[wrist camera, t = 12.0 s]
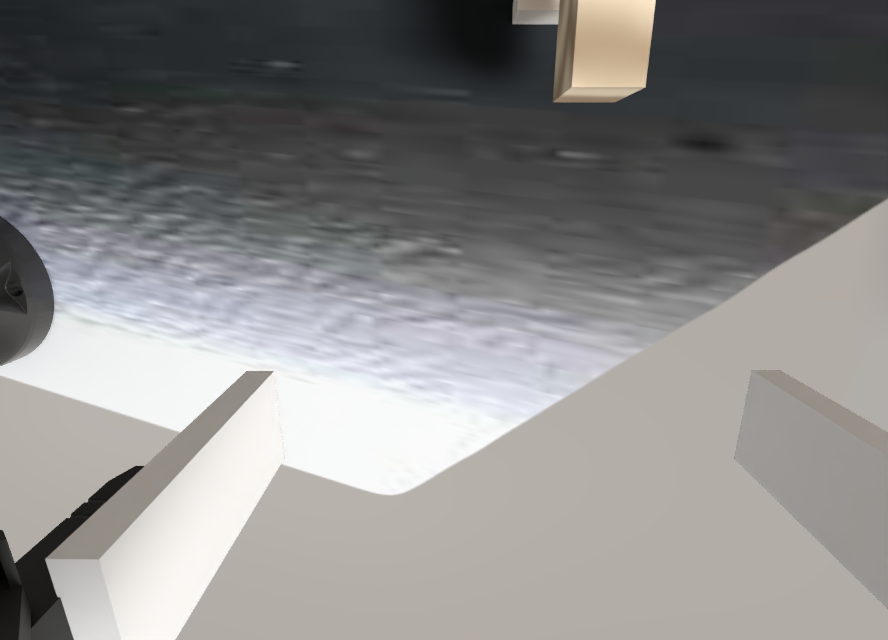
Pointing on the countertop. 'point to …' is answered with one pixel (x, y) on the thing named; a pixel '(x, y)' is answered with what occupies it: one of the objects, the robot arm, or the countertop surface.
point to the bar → (602, 49)
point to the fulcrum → (535, 11)
